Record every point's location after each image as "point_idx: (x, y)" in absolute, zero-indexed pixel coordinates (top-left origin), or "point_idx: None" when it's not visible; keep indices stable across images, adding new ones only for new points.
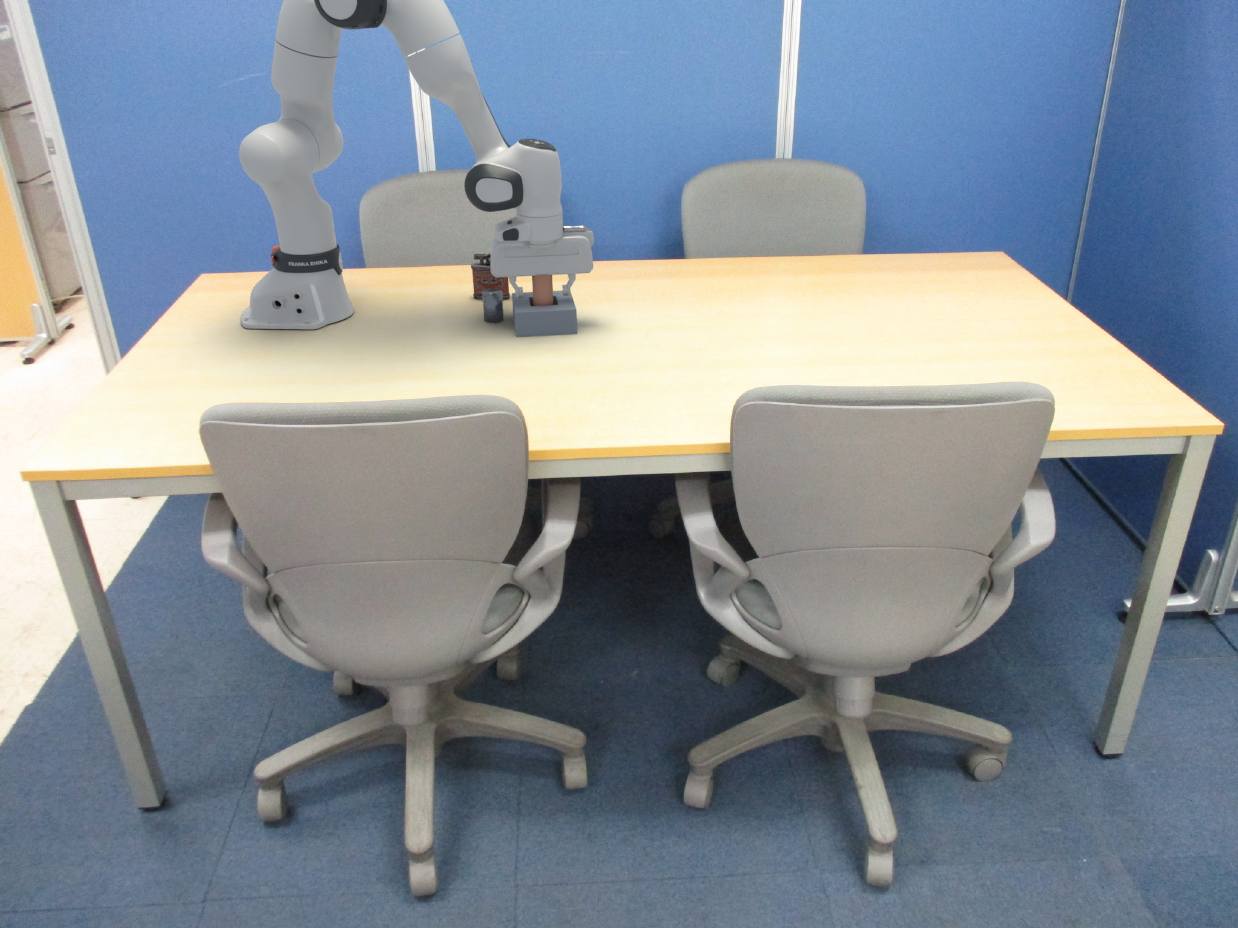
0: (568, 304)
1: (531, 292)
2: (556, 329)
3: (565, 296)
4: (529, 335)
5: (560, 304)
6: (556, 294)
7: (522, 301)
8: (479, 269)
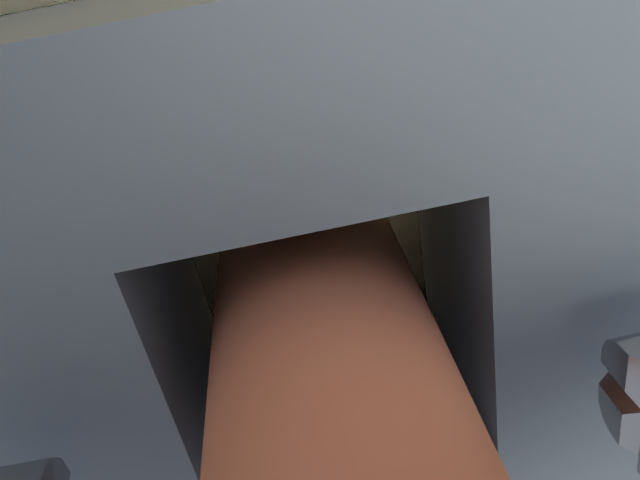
0: (601, 435)
1: (88, 48)
2: None
3: (614, 205)
4: None
5: (520, 444)
6: (501, 132)
7: (75, 409)
8: None
